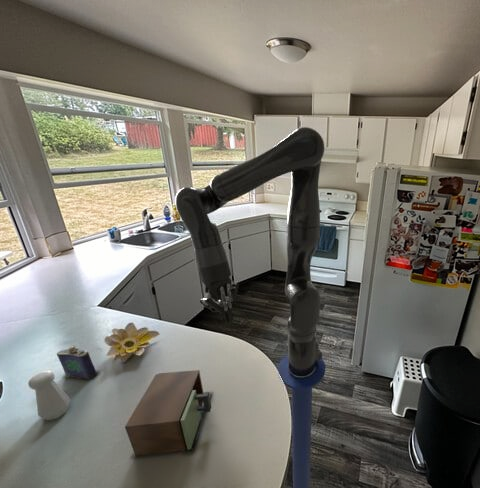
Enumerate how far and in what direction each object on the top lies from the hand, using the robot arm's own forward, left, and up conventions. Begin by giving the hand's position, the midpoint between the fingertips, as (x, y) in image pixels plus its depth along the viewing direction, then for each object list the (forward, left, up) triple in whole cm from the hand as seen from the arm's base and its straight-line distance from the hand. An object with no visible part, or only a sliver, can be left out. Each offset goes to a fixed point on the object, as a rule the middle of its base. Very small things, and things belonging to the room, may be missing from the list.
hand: (228, 322), depth 69 cm
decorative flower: (+24, -32, -23) cm, 46 cm away
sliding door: (+12, +10, -22) cm, 27 cm away
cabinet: (+17, +3, -22) cm, 28 cm away
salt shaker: (+41, -18, -23) cm, 51 cm away
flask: (+37, -30, -23) cm, 53 cm away
